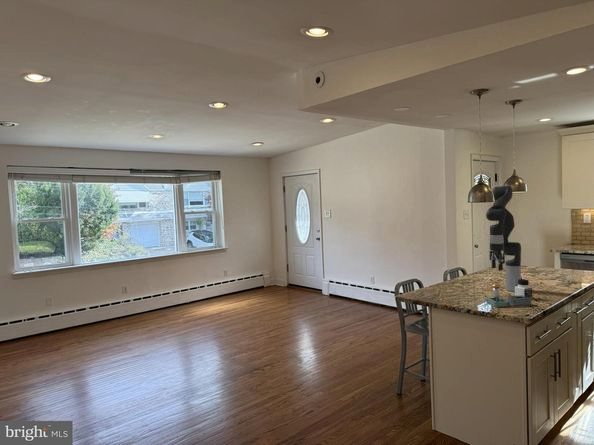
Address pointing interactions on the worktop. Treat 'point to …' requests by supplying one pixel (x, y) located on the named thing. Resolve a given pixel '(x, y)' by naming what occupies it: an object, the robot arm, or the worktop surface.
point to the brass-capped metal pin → (496, 292)
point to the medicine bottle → (523, 288)
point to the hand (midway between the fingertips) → (497, 269)
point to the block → (519, 300)
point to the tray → (498, 304)
